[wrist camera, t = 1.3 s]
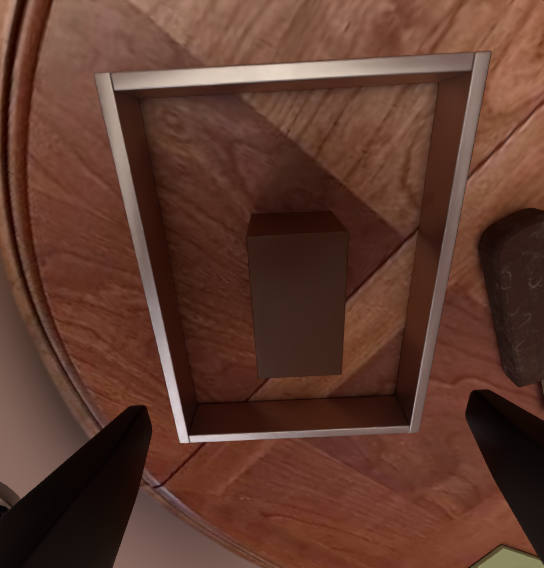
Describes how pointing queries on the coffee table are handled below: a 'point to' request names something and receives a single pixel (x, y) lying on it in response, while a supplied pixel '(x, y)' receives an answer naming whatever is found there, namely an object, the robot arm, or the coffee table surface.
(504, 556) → the sticky note pad
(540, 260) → the ice cream bar
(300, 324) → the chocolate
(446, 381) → the coffee table surface
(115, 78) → the rectangular frame
